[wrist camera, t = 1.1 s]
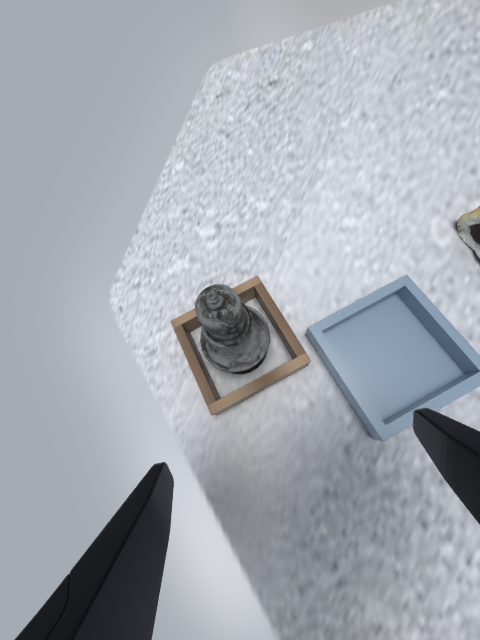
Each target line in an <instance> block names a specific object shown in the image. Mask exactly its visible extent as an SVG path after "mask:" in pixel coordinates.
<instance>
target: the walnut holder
mask: <svg viewBox="0 0 480 640" xmlns="http://www.w3.org/2000/svg"><path fill="white" fill-rule="evenodd" d="M233 290H234V291H235V292H236V293H237V294H238V296H239V297H240V300H241V302H242V303H243V304H244V303H245V302H247V301H249V300H251V299H253V298H255V297H256V298H257V300H258V301H259V303H260V305H261V306H262V308H263V310H264V311H265V313H266V315H267V316H268V318H269V320H270V321H271V323H272V325H273V326H274V328H275V329H276V331H277V333H278V334H279V336H280V338H281V339H282V341H283V343H284V344H285V346H286V348H287V349H288V351H289V353H290V354H291V356H292V358H293V360H291V361H289V362H287V363H286V364H284V365H282V366H280V367H278V368H276V369H275V370H273V371H271V372H269V373H267V374H265V375H264V376H262V377H260V378H258V379H256V380H254V381H253V382H251V383H249V384H247V385H245V386H243V387H242V388H240V389H238V390H236V391H234V392H232V393H230V394H229V395H227V396H225V397H223V398H221V399H220V397H219V394H218V392H217V390H216V388H215V386H214V384H213V381H212V379H211V377H210V375H209V373H208V370H207V368H206V366H205V364H204V362H203V360H202V357H201V355H200V353H199V351H198V349H197V347H196V344H195V342H194V340H193V338H192V336H191V334H190V332H191V331H193V330H194V329H196V328H198V327H200V326H202V324H201V323H200V322H199V320H198V318H197V316H196V311H195V309H193V310H191V311H189V312H187V313H185V314H183V315H181V316H179V317H177V318H175V319H174V320H172V321H171V324H172V326H173V328H174V331H175V333H176V335H177V337H178V340H179V342H180V344H181V347H182V349H183V351H184V354H185V356H186V358H187V360H188V363H189V365H190V367H191V370H192V372H193V374H194V377H195V379H196V381H197V383H198V386H199V388H200V390H201V393H202V395H203V397H204V399H205V402H206V404H207V406H208V409H209V411H210V413H211V415H218V414H220V413H222V412H224V411H226V410H228V409H229V408H231V407H233V406H235V405H237V404H239V403H240V402H242V401H244V400H246V399H248V398H249V397H251V396H253V395H255V394H257V393H259V392H260V391H262V390H264V389H266V388H268V387H270V386H271V385H273V384H275V383H277V382H279V381H281V380H282V379H284V378H286V377H288V376H290V375H291V374H293V373H295V372H297V371H299V370H301V369H302V368H304V367H306V366H308V364H309V363H310V362H311V360H310V358H309V357H308V355H307V353H306V352H305V350H304V349H303V347H302V345H301V344H300V342H299V341H298V339H297V337H296V336H295V334H294V333H293V331H292V329H291V328H290V326H289V325H288V323H287V322H286V320H285V318H284V317H283V315H282V314H281V312H280V310H279V309H278V307H277V306H276V304H275V302H274V301H273V299H272V298H271V296H270V295H269V293H268V291H267V290H266V288H265V287H264V285H263V283H262V282H261V280H260V279H259V277H258V275H257V276H256V277H254V278H252V279H250V280H248V281H246V282H244V283H242V284H240V285H238V286H236V287H235V288H233Z"/></svg>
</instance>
